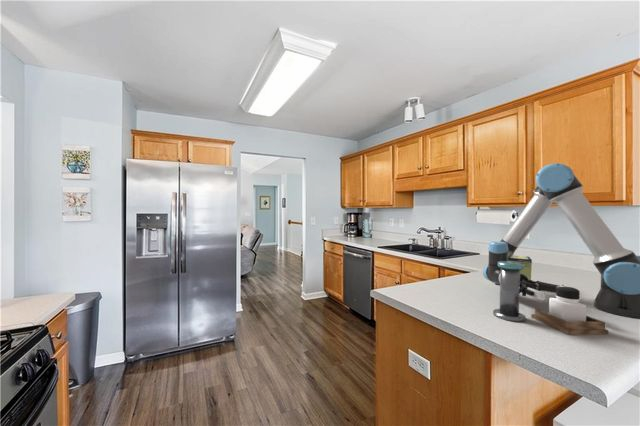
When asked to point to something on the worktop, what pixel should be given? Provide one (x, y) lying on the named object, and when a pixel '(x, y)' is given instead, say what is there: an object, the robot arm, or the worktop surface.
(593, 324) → the notched board
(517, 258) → the protein box
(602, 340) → the worktop surface
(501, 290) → the bobbin post
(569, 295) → the medicine bottle
